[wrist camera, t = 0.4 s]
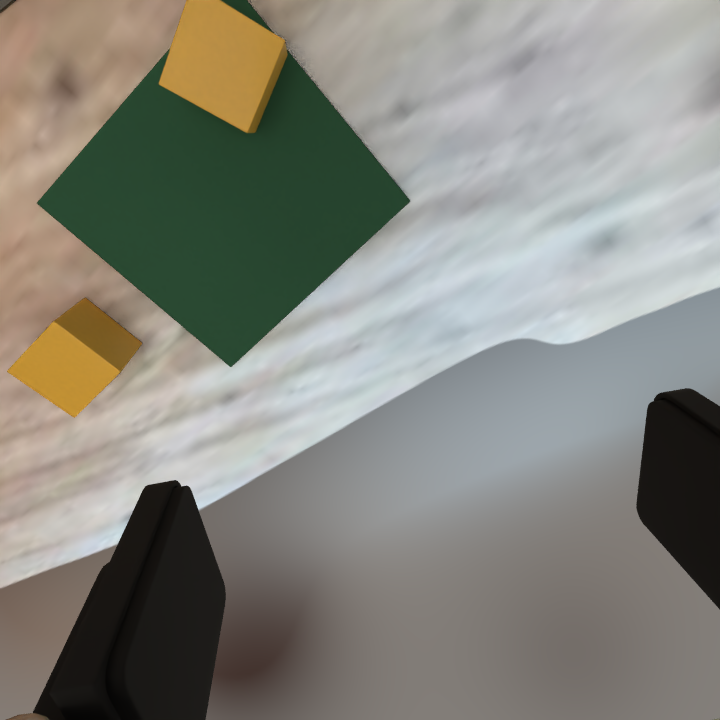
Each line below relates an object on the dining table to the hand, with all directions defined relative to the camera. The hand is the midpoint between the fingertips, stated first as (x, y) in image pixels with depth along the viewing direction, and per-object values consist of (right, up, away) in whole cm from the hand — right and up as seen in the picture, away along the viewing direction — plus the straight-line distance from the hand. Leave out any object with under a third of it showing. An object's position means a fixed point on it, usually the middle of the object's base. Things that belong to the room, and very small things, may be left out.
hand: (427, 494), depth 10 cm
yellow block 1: (-25, +4, +34) cm, 43 cm away
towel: (-12, +16, +31) cm, 37 cm away
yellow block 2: (-11, +24, +27) cm, 37 cm away
